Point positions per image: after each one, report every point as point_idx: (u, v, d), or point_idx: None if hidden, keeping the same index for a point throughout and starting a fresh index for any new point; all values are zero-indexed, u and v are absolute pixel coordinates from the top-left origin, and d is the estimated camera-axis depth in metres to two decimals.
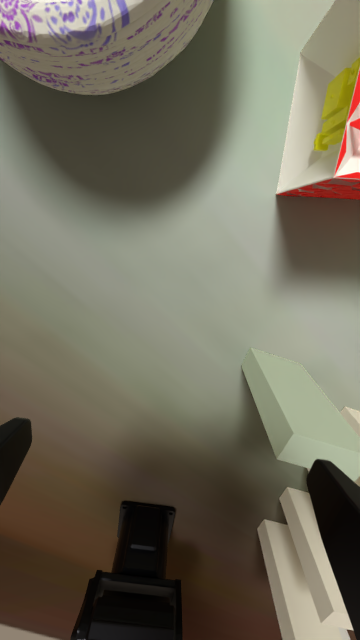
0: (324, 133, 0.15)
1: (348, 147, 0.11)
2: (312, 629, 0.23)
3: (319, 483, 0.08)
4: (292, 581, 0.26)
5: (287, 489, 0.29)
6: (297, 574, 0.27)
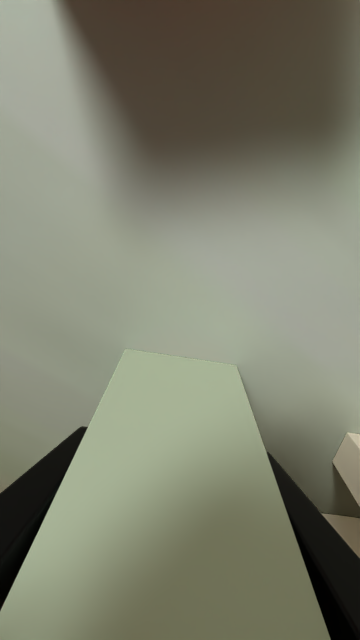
0: None
1: None
2: None
3: None
4: None
5: None
6: None
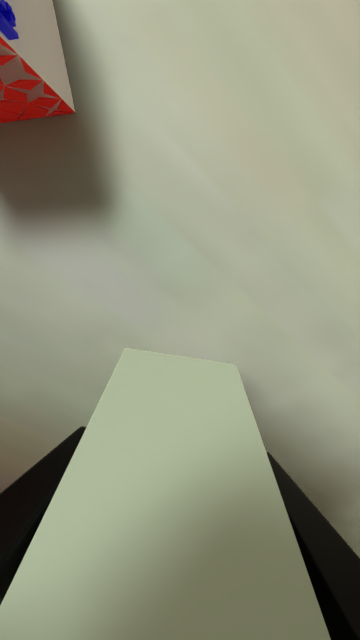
0: None
1: None
2: None
3: None
4: None
5: None
6: None
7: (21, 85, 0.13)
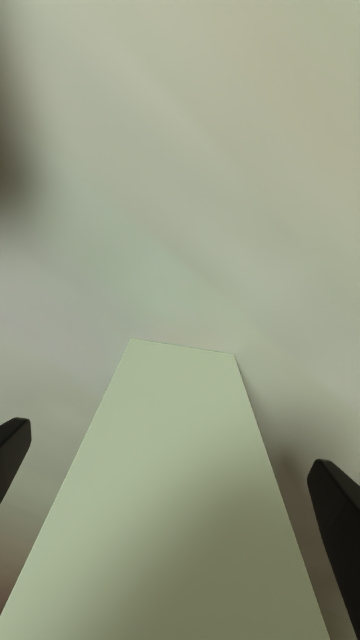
0: None
1: None
2: None
3: (320, 483, 0.08)
4: None
5: None
6: None
7: None
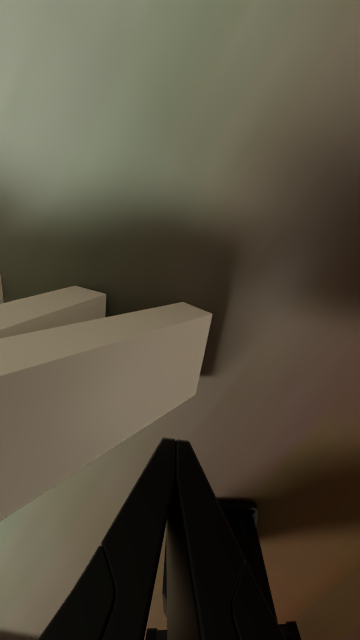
0: None
1: None
2: None
3: None
4: None
5: None
6: None
7: None
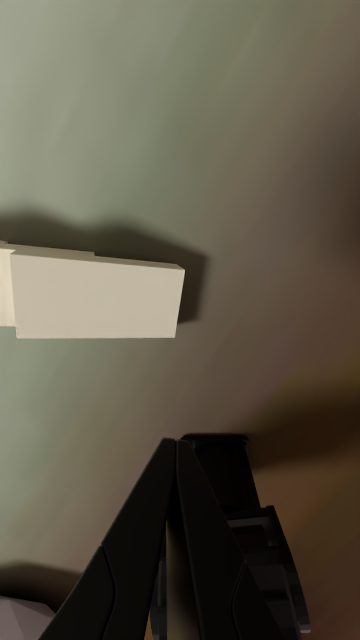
0: None
1: None
2: None
3: None
4: None
5: None
6: None
7: None
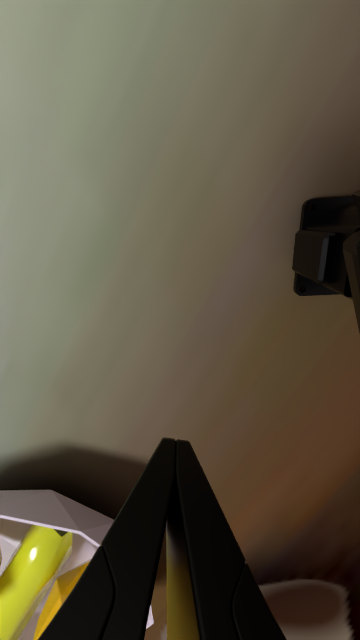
0: None
1: None
2: None
3: None
4: None
5: None
6: None
7: None
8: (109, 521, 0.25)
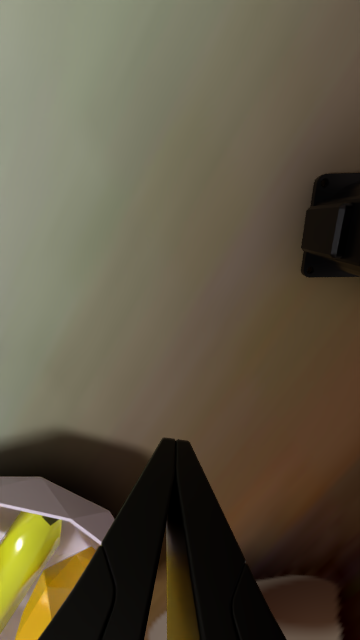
0: None
1: None
2: None
3: None
4: None
5: None
6: None
7: None
8: (101, 510, 0.24)
